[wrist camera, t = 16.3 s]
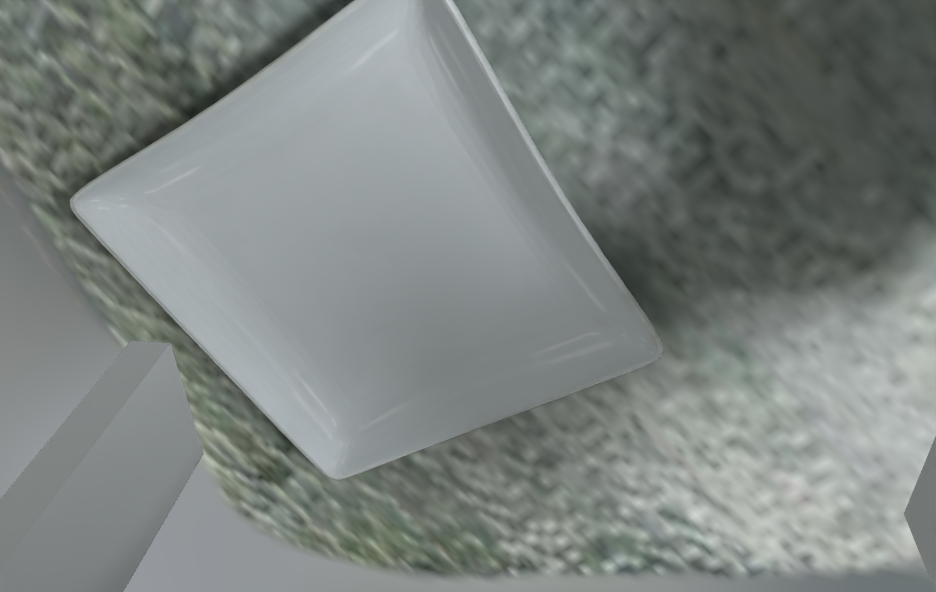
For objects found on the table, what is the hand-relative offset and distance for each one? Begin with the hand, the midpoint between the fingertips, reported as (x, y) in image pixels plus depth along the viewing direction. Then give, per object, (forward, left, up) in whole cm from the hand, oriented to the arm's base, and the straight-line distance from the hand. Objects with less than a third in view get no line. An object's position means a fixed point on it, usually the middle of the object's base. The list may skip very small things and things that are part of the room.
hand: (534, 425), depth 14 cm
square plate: (+12, +16, -32) cm, 38 cm away
